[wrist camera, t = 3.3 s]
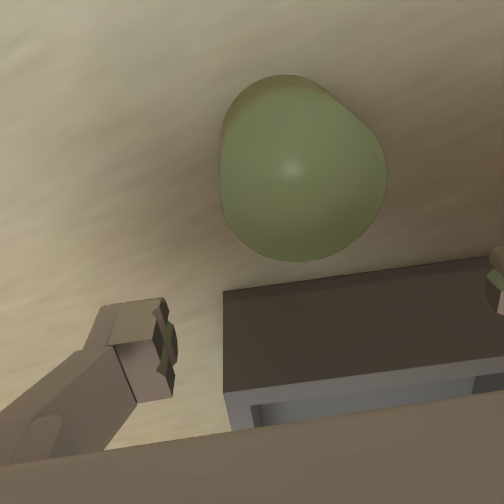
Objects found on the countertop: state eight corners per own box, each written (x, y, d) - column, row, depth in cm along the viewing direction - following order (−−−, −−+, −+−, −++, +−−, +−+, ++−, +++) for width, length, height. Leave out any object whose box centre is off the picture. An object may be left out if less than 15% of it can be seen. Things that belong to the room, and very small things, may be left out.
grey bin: (223, 291, 23) (223, 392, 17) (508, 253, 23) (610, 341, 17) (256, 459, 31) (264, 567, 25) (466, 432, 31) (523, 534, 25)
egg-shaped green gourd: (211, 84, 17) (205, 117, 12) (342, 66, 17) (391, 91, 12) (230, 204, 20) (233, 271, 15) (343, 188, 20) (383, 251, 15)
